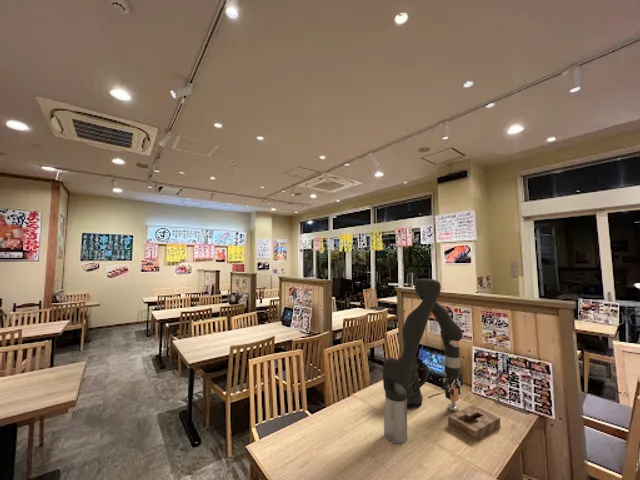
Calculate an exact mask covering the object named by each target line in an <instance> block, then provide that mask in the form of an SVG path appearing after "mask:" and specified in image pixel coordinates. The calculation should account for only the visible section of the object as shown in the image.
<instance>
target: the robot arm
mask: <svg viewBox="0 0 640 480" xmlns="http://www.w3.org/2000/svg"><path fill="white" fill-rule="evenodd" d="M441 289H442V285H441V282H440V281H439V280H437V279H434V278H433V279H432V278H418V279H417V280H416V281H415V282H414V291H415V292H416V295H417V296H418V297H419V298H420V300H421V303H420V304H419V305H418V306H417V307H416V308H415V309H413V310H412V311H411V312H410V313H409V314H408V315H407V316H406V318H405V320H404V322H403V326H402V330H401V336H402V342H403V351H402V354H401V356H400V357H401V360H397V359H398V358H394V357H387V358H386V359H385V360H384V361H383V366H382V380H383V381H382V382H383V383H382V384H383V385H382V386H383V390H384V393H385V394H384V395H385V399H384V400H385V413H384V414H383V436H384V437H385V439H387V440H389V442H391V443H392V444H393V445H394V444H404V443H406V442H407V441H408V408H407V393H406V390H405V389H404V388H403V386H402V385H404V384H406V383H407V381H408V380H409V378H410V375H411V372H412V368H413V364H414V360H415V357H417V353H418V349H419V347H420V344H421V341H422V338H423V336H424V333H425V330H426V326H427V324H428V322H429V318H430V316H431V313H432V315H433V316H434V318H435V319H436V323H438V325H439V326H440V328H441V329H440V336H441V340H442V344H443V347H444V357H443V358H444V359H443V360H444V362H443V365H444V366H443V367H444V374H446V377H442V378H441V380H442V381H441V389H442V390H443V391H444V392H445V393H444V394H445V395H444V396H445V398H446V399H447V400H449V399H450V390H451V388H452V387H453V386H455V387H456V388H458V396H460V395H461V392H460V389H461V388H462V386H464V376H463V373H461V358H460V346H458V345H457V344H456V343H454V342H459V341H461V340H462V339H463V337H464V336H463V331H462V329H461V327H460V326H459V325H458V324H457V323H456V321H454V320H453V319H452V316H451V315H450V313H449V311H448V310H447V309H446V308H445V307H444V305H442V304H441V302H439V301H438V298H439V297H440V294H441ZM453 341H454V342H453ZM448 387H449V388H448Z"/></svg>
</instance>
